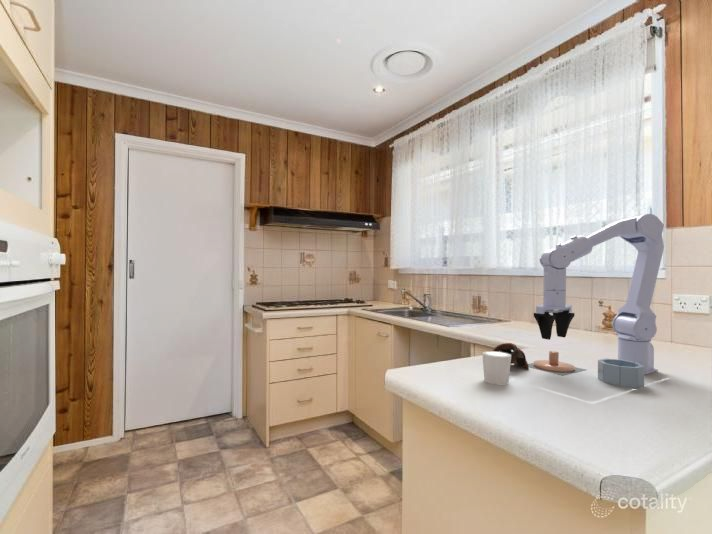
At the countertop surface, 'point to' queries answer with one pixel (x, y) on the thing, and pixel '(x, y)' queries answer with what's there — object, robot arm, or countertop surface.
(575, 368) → the mat
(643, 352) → the robot arm
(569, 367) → the lid
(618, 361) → the grey octagonal bowl
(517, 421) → the countertop surface
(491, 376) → the white tapered cylinder
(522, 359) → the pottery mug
